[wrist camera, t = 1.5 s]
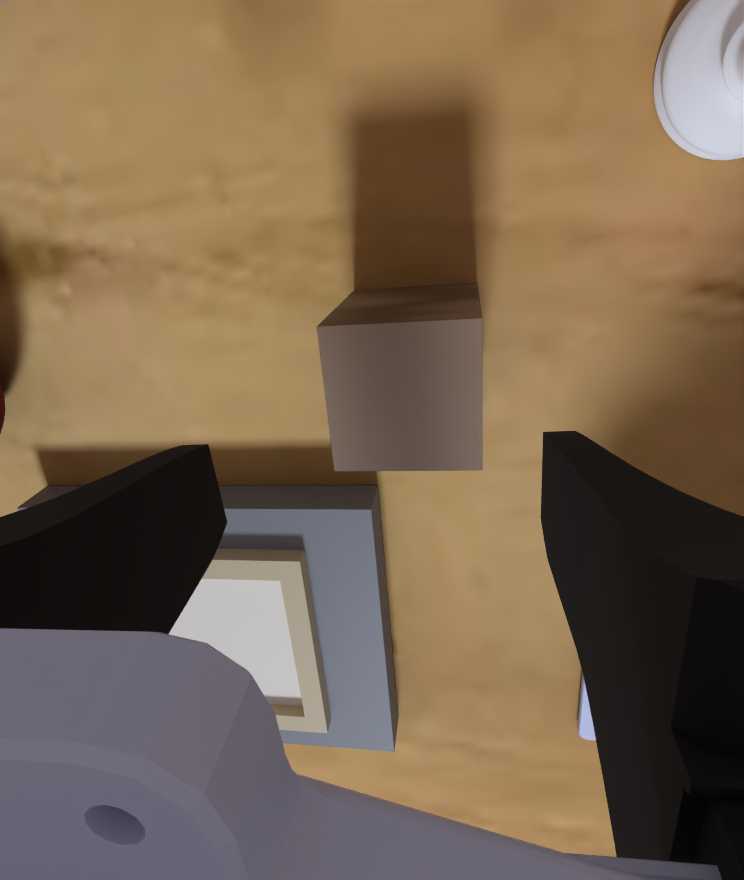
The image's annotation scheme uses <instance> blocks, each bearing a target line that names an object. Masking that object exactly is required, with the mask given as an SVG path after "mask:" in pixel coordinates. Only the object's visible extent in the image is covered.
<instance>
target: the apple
mask: <svg viewBox="0 0 744 880" xmlns="http://www.w3.org/2000/svg"><path fill="white" fill-rule="evenodd" d="M4 416H5V400H4V394H3V390H2V387H1V383H0V433H1V430H2V426H3V422H4Z"/></svg>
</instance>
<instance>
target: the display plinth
mask: <svg viewBox="0 0 744 880" xmlns="http://www.w3.org/2000/svg"><path fill="white" fill-rule="evenodd" d="M80 487H82V486H47V487H45V488H44V489H43V490H41V491H40V492H38V493H37V494H36V495H34V496H33V497H31V498H30V499H29V500H27V501H26V502H25V503H23V504H22V505H20V506H19V507H18V511H20V510H23V509H26V508H29V507H32V506H35V505H37V504H40V503H43V502H45V501H48V500H51V499H53V498H56V497H58V496H61V495H63V494H65V493H68V492H70V491H72V490H75V489H77V488H80ZM219 490H220V494H221V498H222V502H223V506H224V510H225V515H226V519H227V525H226V528H225V530H224V533H223V536H222V538H221V541H220V544H219V546H218V548H217V551H216V553H215V556H214V558H213V560H212V562H211V563H210V565H209V567H208V569H207V570H206V572H205V574H204V576H203V577H202V579H201V581H200V582H199V584H198V586H197V588H196V589H195V591H194V593H193V594H192V596H191V598H190V599H189V601H188V603H187V604H186V606H185V608H184V609H183V611H182V613H181V614H180V616H179V618H178V619H177V621H176V622H175V624H174V626H173V627H172V629H171V631H170V632H169V635H174V636H178V637H182V638H187V639H191V640H196V641H200V642H204V643H208V644H209V645H211V646H212V647H214V648H215V649H217V650H218V651H220V652H221V653H223V654H224V655H226V656H227V657H228V658H230V659H231V660H233V661H234V662H236V663H237V664H239V665H240V666H242V667H243V668H245V669H246V670H248V671H249V672H250V674H251V675H252V676H253V678H254V679H255V681H256V683H257V684H258V686H259V688H260V689H261V691H262V693H263V694H264V696H265V698H266V699H267V701H268V703H269V704H270V706H271V708H272V709H273V711H274V713H275V715H276V719H277V723H278V727H279V731H280V735H281V739H282V743H289V744H302V745H315V746H328V747H341V748H354V749H366V750H379V751H392V752H394V749H395V741H396V733H397V724H398V708H397V697H396V685H395V674H394V663H393V651H392V640H391V629H390V617H389V606H388V595H387V583H386V572H385V561H384V549H383V538H382V527H381V515H380V504H379V493H378V485H341V486H219Z"/></svg>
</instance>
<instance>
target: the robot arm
mask: <svg viewBox="0 0 744 880" xmlns="http://www.w3.org/2000/svg"><path fill="white" fill-rule="evenodd" d="M541 522H542V529H543V535H544V541H545V547H546V552H547V558H548V561H549V565H550V568H551V571H552V574H553V577H554V581H555V584H556V587H557V590H558V593H559V596H560V599H561V602H562V606H563V609H564V612H565V615H566V618H567V621H568V624H569V627H570V630H571V633H572V637H573V640H574V643H575V646H576V649H577V653H578V656H579V660H580V664H581V668H582V681H581V692H580V702H579V713H578V724H577V728H578V733H579V735H580V737H582V738H584V739H586V740H596V742H597V748H598V753H599V758H600V764H601V769H602V774H603V780H604V786H605V791H606V797H607V803H608V808H609V814H610V820H611V826H612V831H613V837H614V843H615V849H616V855H617V857H608V856H596V855H584V854H572V853H562V852H559V851H555V850H552V849H549V848H545V847H542V846H539V845H535V844H532V843H528V842H525V841H522V840H518V839H515V838H512V837H508V836H505V835H501V834H498V833H495V832H491V831H488V830H485V829H481V828H478V827H474V826H471V825H468V824H464V823H461V822H458V821H454V820H451V819H447V818H444V817H441V816H437V815H434V814H431V813H427V812H424V811H420V810H417V809H414V808H410V807H407V806H404V805H400V804H397V803H393V802H390V801H387V800H383V799H380V798H377V797H373V796H370V795H366V794H363V793H360V792H356V791H353V790H350V789H346V788H343V787H339V786H336V785H333V784H329V783H326V782H323V781H319V780H316V779H312V778H309V777H306V776H301V775H298V774H296V773H295V772H294V771H293V770H292V769H291V767H290V765H289V762H288V760H287V758H286V755H285V751H284V747H283V743H282V739H281V735H280V731H279V727H278V723H277V719H276V715H275V713H274V711H273V709H272V708H271V706H270V704H269V703H268V701H267V699H266V698H265V696H264V694H263V693H262V691H261V689H260V688H259V686H258V684H257V683H256V681H255V679H254V678H253V676H252V675H251V674H250V672H249V671H248V670H246V669H245V668H243V667H242V666H240V665H239V664H237V663H236V662H234V661H233V660H231V659H230V658H228V657H227V656H226V655H224V654H223V653H221V652H220V651H218V650H217V649H215V648H214V647H212V646H211V645H209V644H208V643H204V642H200V641H196V640H191V639H187V638H182V637H178V636H174V635H169V632H170V631H171V629H172V627H173V626H174V624H175V622H176V621H177V619H178V618H179V616H180V614H181V613H182V611H183V609H184V608H185V606H186V604H187V603H188V601H189V599H190V598H191V596H192V594H193V593H194V591H195V589H196V588H197V586H198V584H199V582H200V581H201V579H202V577H203V576H204V574H205V572H206V570H207V569H208V567H209V565H210V563H211V562H212V560H213V558H214V556H215V553H216V551H217V548H218V546H219V544H220V541H221V538H222V536H223V533H224V530H225V528H226V525H227V519H226V515H225V510H224V506H223V502H222V498H221V494H220V490H219V486H218V482H217V478H216V474H215V470H214V466H213V462H212V458H211V454H210V449H209V445H208V444H204V445H182V446H178V447H174V448H171V449H168V450H165V451H163V452H160V453H158V454H155V455H153V456H150V457H148V458H146V459H143V460H141V461H139V462H137V463H134V464H132V465H130V466H128V467H125V468H123V469H121V470H119V471H117V472H114V473H112V474H110V475H108V476H105V477H103V478H101V479H99V480H96V481H94V482H91V483H89V484H87V485H84V486H82V487H80V488H77V489H75V490H72V491H70V492H68V493H65V494H63V495H61V496H58V497H56V498H53V499H51V500H48V501H45V502H43V503H40V504H37V505H35V506H32V507H29V508H26V509H23V510H20V511H17V512H14V513H11V514H8V515H5V516H2V517H0V880H744V517H743V516H740V515H737V514H734V513H732V512H729V511H726V510H723V509H721V508H718V507H716V506H713V505H711V504H709V503H706V502H704V501H701V500H699V499H697V498H694V497H692V496H689V495H687V494H685V493H683V492H681V491H678V490H676V489H674V488H672V487H670V486H668V485H666V484H665V483H663V482H661V481H659V480H657V479H655V478H653V477H651V476H649V475H647V474H646V473H644V472H642V471H640V470H639V469H637V468H635V467H633V466H632V465H630V464H628V463H627V462H625V461H623V460H622V459H620V458H619V457H617V456H615V455H614V454H612V453H611V452H609V451H607V450H606V449H604V448H603V447H601V446H600V445H598V444H597V443H595V442H593V441H592V440H590V439H589V438H587V437H586V436H584V435H582V434H580V433H578V432H576V431H559V432H543V460H542V497H541Z"/></svg>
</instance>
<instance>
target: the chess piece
mask: <svg viewBox="0 0 744 880" xmlns="http://www.w3.org/2000/svg"><path fill="white" fill-rule="evenodd" d="M654 101H655V106H656V111H657V114H658V117H659V119H660V122H661V124H662V126H663V128H664V129H665V131H666V132H667V134H668V135H669V136H670V138H671V139H672V140H673V141H674V142H675V143H676V144H677V145H678V146H680V147H681V148H683V149H684V150H686V151H687V152H689V153H691V154H693V155H696V156H698V157H702V158H706V159H712V160H732V159H738V158H743V157H744V0H690V1H689V2H688V3H687V5H686V6H685V7H684V8H683V9H682V11H681V12H680V13H679V15H678V16H677V18H676V19H675V21H674V22H673V24H672V26H671V27H670V29H669V31H668V33H667V35H666V37H665V39H664V41H663V44H662V46H661V49H660V52H659V55H658V59H657V62H656V67H655V74H654Z"/></svg>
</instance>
